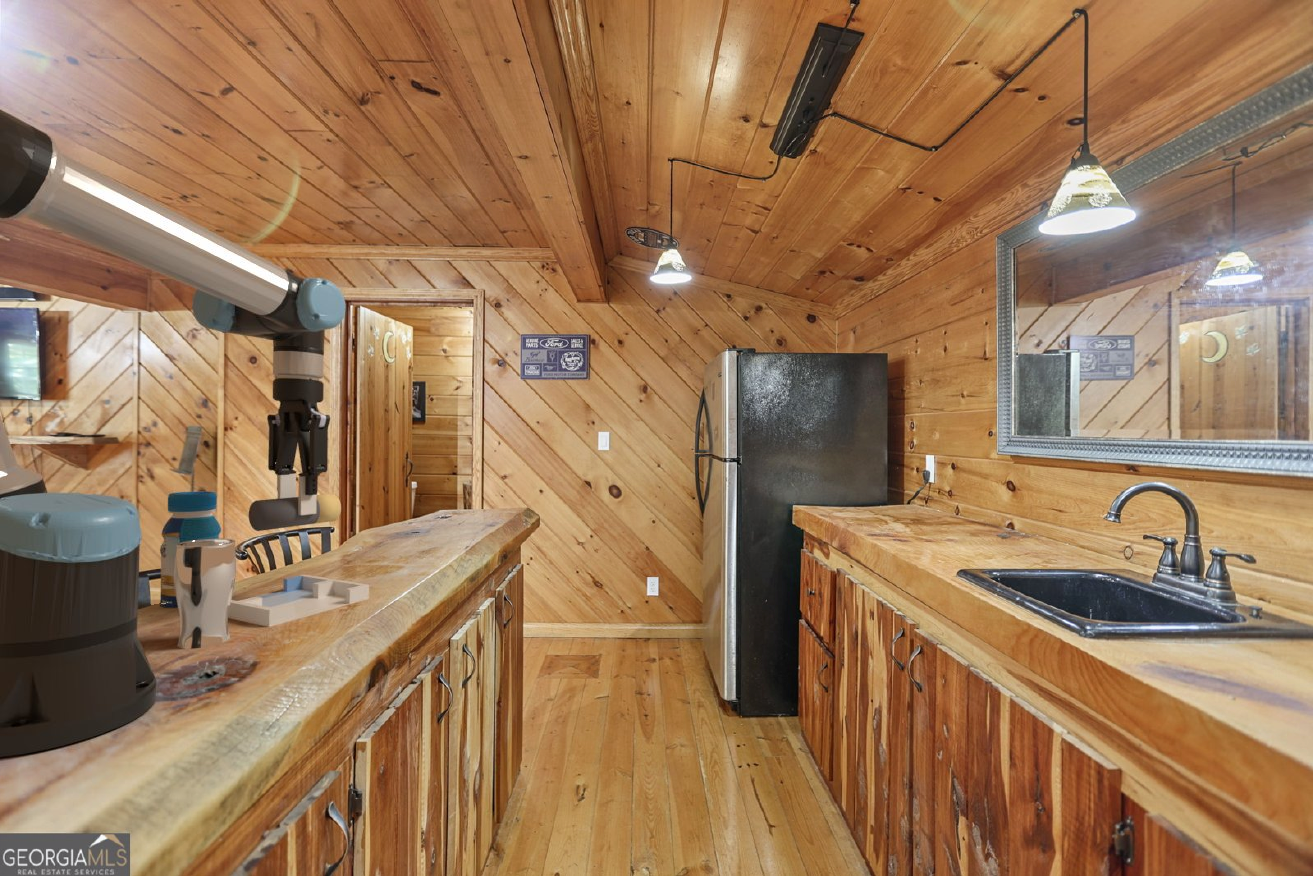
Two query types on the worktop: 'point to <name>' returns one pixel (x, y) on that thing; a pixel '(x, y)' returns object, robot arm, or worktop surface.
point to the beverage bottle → (185, 533)
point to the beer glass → (204, 590)
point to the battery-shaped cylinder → (292, 512)
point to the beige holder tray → (298, 600)
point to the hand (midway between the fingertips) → (296, 512)
